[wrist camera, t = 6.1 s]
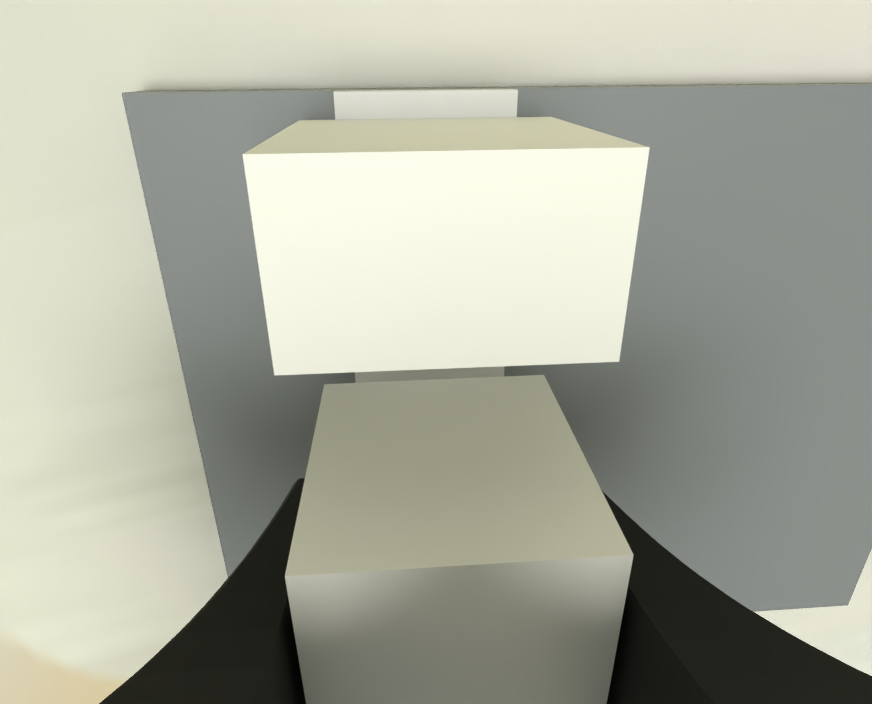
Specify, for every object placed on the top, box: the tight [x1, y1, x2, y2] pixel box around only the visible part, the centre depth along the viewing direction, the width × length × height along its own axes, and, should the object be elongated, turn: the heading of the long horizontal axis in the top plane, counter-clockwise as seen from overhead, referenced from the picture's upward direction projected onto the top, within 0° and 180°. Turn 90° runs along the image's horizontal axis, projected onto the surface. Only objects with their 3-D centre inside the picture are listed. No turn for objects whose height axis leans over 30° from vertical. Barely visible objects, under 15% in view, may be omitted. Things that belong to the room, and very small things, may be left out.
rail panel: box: [122, 83, 872, 611], centre depth 14 cm, size 16×20×7 cm
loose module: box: [285, 375, 634, 704], centre depth 11 cm, size 5×4×5 cm
